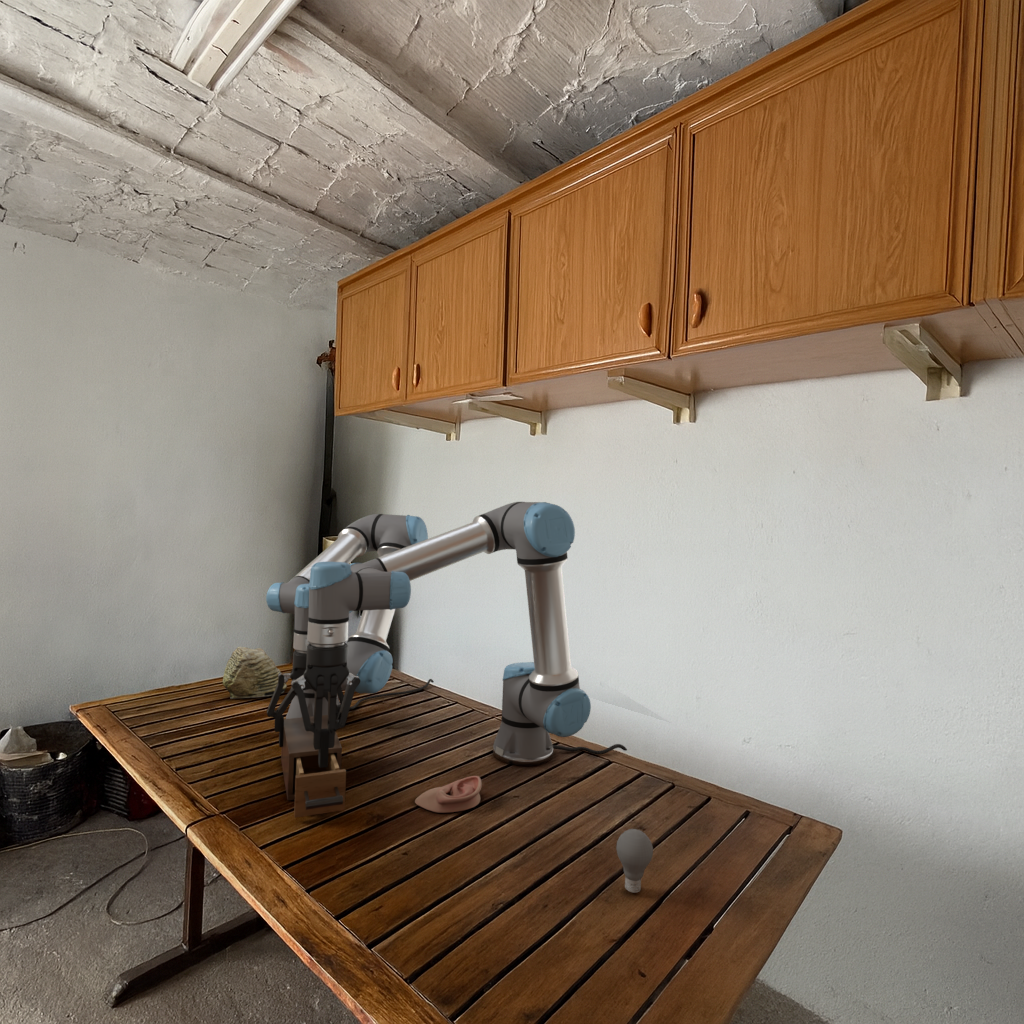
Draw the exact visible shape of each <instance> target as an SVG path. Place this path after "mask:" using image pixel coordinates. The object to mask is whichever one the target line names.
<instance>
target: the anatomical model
mask: <svg viewBox="0 0 1024 1024" xmlns="http://www.w3.org/2000/svg"><path fill="white" fill-rule="evenodd" d="M482 786H483V783H482V779H481V777H480V776H479V775H471V776H467V777H464V778H461V779H458V780H455V781H452V782H450V783H447V784H445V785H442V786H438V787H433V788H430V789H427V790H425V791H424V792H423V793H421V794H419V795H418V796H417V797H416V798H415V800H414V804H416V805H417V806H418V807H420V808H423V809H425V810H427V811H429V812H433V813H440V814H441V813H443V814H445V813H454V812H463V811H466V810H470V809H472V808H473V809H474V808H475V807H476V806H478V805H480V803H481V793H480V791H481V790H482Z"/></svg>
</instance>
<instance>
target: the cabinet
mask: <svg viewBox="0 0 1024 1024" xmlns="http://www.w3.org/2000/svg"><path fill="white" fill-rule="evenodd" d="M310 722H311V723H314V716H312V717H310ZM327 722H328V715H322V728H321V729H328V726H327ZM313 735H314V733H313V732H311V731H306V730H305V727H304V723H303V718H302V717H301V718H291V719H286V718H284V733H283V747H280V748H281V751H280V752H281V753H280V761H281V768H282V773H283V781H284V786H285V793H286V800H287V801H295V788H294V782H293V773H294V758H296V757H304V756H313V755H319V749H318V750H315V749H314V746H313ZM329 753H334V755H335V757H336V760H337V763H338V766H339V770H341V769H342V760H343V759H342V758H343V756H342V755H343V747H342V744H341V742H340V740H339V737H338V734H337V731H336V732H335V743H334V747H333V748H329V751H328V754H329Z"/></svg>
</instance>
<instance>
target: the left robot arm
mask: <svg viewBox="0 0 1024 1024" xmlns="http://www.w3.org/2000/svg"><path fill="white" fill-rule="evenodd" d="M427 539H429V535H428V528H427V525H426V523H425V521H424V519H423V518H422V517H420V516H417V515H410V514H407V515H403V514H402V515H401V514H385V513H384V514H383V513H373V514H368V515H366V516H363V517H361V518H359V519H357V520H355V521H353V522H351V523H350V524H349V525H347V526H346V527H344V528H343V529H342V530H341V531H340V532H339V533H338V535H337V539H336V540H335V541H334V542H332V543H331V544H330V545H329V546H327V547H326V548H325V549H324V550H323V551H322V552H321V553H320V554H319V555H317V556H316V557H315V558H314V559H313V560H311V561H310V562H309V563H308V564H307V565H306V566H305V567H303V568H302V569H301V570H300V571H298V573H296V574H295V576H293V577H292V578H291V579H290V580H289V581H288V582H284V581H282V582H274V583H273V584H271V585H269V588H268V590H267V593H266V596H265V601H266V604H267V607H268V608H269V610H271V611H273V612H276V613H277V612H278V613H282V614H291V615H292V614H293V615H294V628H293V646H292V647H293V649H294V650H293V652H292V669H291V671H290V672H285V673H283V672H282V671H280V673H279V674H278V683H277V686H276V688H275V691H274V694H273V695H272V696H271V699H270V701H269V704H268V707H267V709H266V715H267V717H268V718H274V732H275V733H278V746H279V748H282V747H283V733H284V719H291V718H301V717H302V714H301V709H300V705H299V700H298V696H297V693H296V692H295V691H294V689H293V688H292V686H291V687H290V689H289V691H288V692H287V694H286V695H285V697H284V699H283V700H282V701H281V703H280V704H279V706H278V707H277V705H278V703H279V699H280V697H281V694H282V693H281V692H282V689H283V687H284V683H286V684H287V683H288V681H289V679H291V681H292V680H293V679H298V678H299V677H301V676H302V675H303V672H304V670H305V668H306V662H307V646H308V644H309V642H308V640H307V635H308V618H309V583H310V573H311V568H312V566H313V565H314V564H315V563H318V562H345V563H348V564H351V562H353V561H354V560H355V559H356V558H360V557H362V556H364V555H365V554H367V553H368V552H376V553H377V555H378V557H381V556H384V555H386V554H389V553H392V552H394V551H397V550H400V549H402V548H405V547H408V546H410V545H413V544H416V543H419V542H421V541H424V540H427ZM395 612H396V609H392V610H390V609H385V610H362V613H361V616H360V618H359V622H358V625H357V629H356V632H355V633H354V634H352V635H350V636H348V640H347V641H346V644H347V645H348V652H347V666H348V669H349V672H350V673H351V674H353V675H357V676H358V677H359V679H360V683H359V685H358V686H357V688H356V689H355V691H354V693H357V694H369V696H365V697H363V698H360V699H359V700H358V701H356V703H355V704H354V705H352V706H350V709H349V711H351V710H355V709H356V708H357V707H358V705H360V703H362V702H364V701H368V700H372V699H377V698H383V697H389V696H391V697H392V696H398V695H399V696H400V695H406V694H411V693H415V692H419V691H422V690H424V689H427V688H428V687H429V685H430V683H434V681H435V680H433V679H432V678H429V679H428V680H427V682H426V684H425V685H423V686H421V687H418V688H413V689H409V690H404V691H397V692H387V693H381V694H376V693H379V692H380V691H381V690H382V689H383V688H384V687H385V685H386V684H387V683H388V681H389V679H390V677H391V675H392V671H393V662H394V661H393V656H392V654H391V652H389V651H390V645H389V644H388V643H387V639H388V637H389V636H388V635H389V633H390V630H391V629H390V628H391V625H392V621H393V618H394V616H395ZM351 613H353V611H349V614H351ZM346 681H347V678H346V679H345V681H344V682H343V683H342V685H341V686H340V688H339V689H338V690H337V699H336V720H337V719H338V715H339V712H340V708H341V705H342V701H343V697H344V691H345V690H346V687H347V685H348V684H347V682H346ZM303 692H304V695H305V699H306V704H307V708H308V713H309V717H312V716H314V702H315V691H314V690H313V689H312V687H311V686H310V685H309V684H308V682H307V681H305V688H304V689H303ZM370 694H371V695H370ZM372 694H375V695H372ZM276 707H277V709H276ZM288 707H289V708H288ZM287 709H288V711H287ZM286 711H287V713H286ZM284 713H286V715H285V716H284ZM322 715H328V692H327V691H326V692H323V704H322Z"/></svg>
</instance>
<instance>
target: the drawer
mask: <svg viewBox="0 0 1024 1024" xmlns="http://www.w3.org/2000/svg"><path fill="white" fill-rule="evenodd" d="M293 782H294V788H295V799H294V807H293V809H294V810H293V816H294V818H295V819H296V818H301V817H307V816H308V817H309V816H314V815H321V814H326V813H327V814H328V813H334V812H341V811H345V810H346V787H347V786H346V785H347V770H346V768H341V770H339V766H338V763H337V760H336V757H335V755H334V753H329V754H328V767H324V768H320V767H319V763H318V755H313V756H304V757H296V758H294V773H293Z"/></svg>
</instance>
